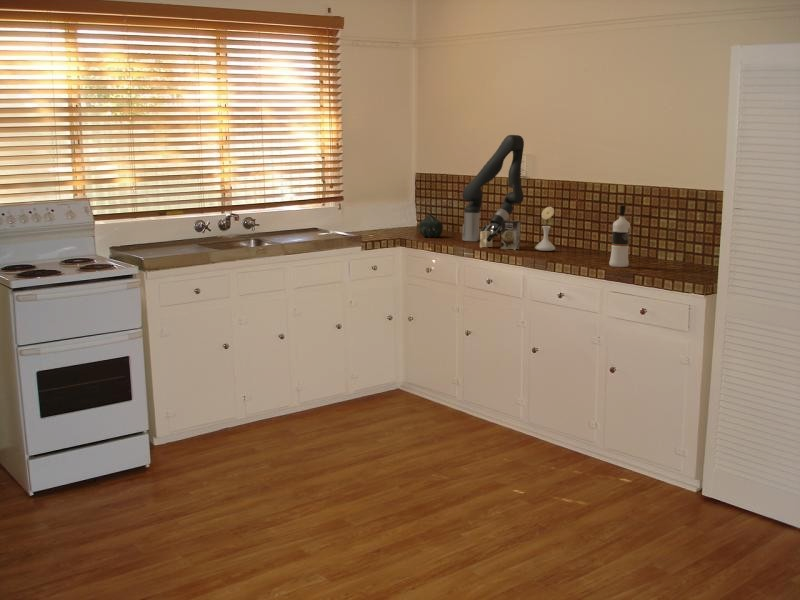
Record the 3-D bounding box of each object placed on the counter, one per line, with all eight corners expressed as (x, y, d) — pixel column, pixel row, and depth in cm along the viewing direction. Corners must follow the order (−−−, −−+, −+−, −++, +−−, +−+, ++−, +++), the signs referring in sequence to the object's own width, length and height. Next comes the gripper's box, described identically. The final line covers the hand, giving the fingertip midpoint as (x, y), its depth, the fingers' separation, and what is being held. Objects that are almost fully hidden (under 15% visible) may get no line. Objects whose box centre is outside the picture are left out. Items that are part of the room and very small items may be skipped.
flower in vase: (531, 249, 499) (533, 205, 495) (548, 249, 503) (551, 205, 499) (542, 252, 487) (544, 207, 483) (560, 252, 491) (563, 207, 487)
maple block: (479, 247, 506) (480, 231, 504) (485, 246, 509) (486, 231, 507) (485, 248, 502) (486, 232, 500) (492, 247, 505) (492, 231, 504)
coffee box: (500, 249, 499) (501, 220, 496) (504, 248, 504) (505, 219, 502) (515, 250, 494) (516, 221, 492) (519, 249, 500) (520, 220, 497)
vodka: (612, 264, 442) (616, 204, 437) (631, 266, 437) (635, 205, 432) (606, 266, 434) (610, 204, 429) (624, 268, 429) (629, 206, 424)
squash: (440, 227, 566) (427, 209, 560) (450, 230, 552) (436, 212, 546) (424, 242, 564) (410, 224, 558) (433, 245, 550) (419, 227, 545)
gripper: (487, 213, 512) (472, 234, 507) (505, 215, 502) (489, 236, 496) (493, 222, 517) (478, 243, 511) (511, 224, 506) (496, 245, 500)
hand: (484, 240), depth 504 cm, fingers open, 5 cm apart
